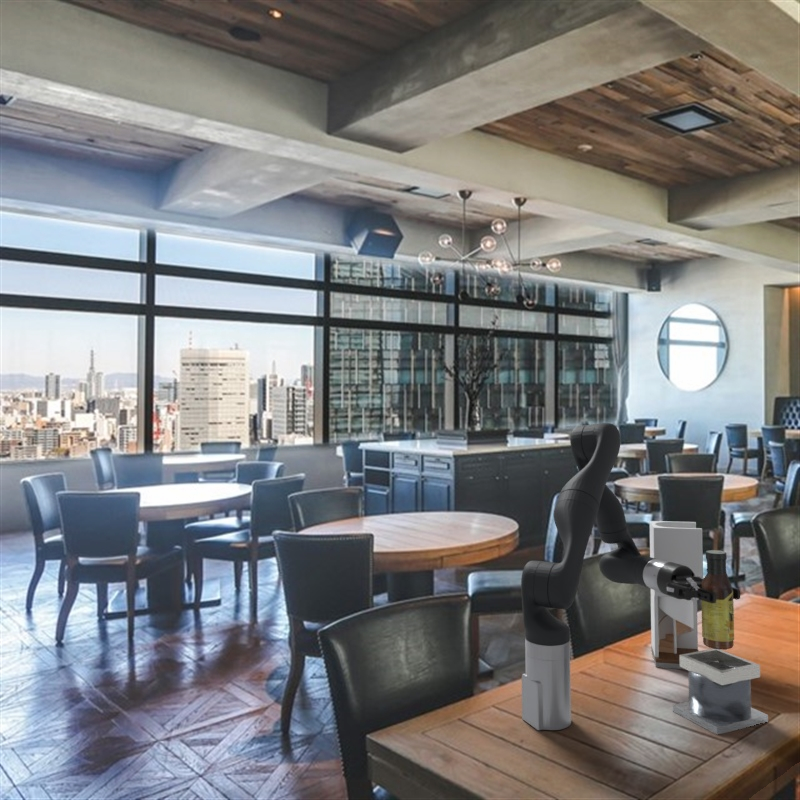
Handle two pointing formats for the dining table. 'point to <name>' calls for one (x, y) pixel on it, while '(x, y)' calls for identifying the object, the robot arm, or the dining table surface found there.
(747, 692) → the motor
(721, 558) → the sauce bottle
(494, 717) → the dining table surface
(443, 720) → the dining table surface
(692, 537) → the white tower
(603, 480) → the robot arm
